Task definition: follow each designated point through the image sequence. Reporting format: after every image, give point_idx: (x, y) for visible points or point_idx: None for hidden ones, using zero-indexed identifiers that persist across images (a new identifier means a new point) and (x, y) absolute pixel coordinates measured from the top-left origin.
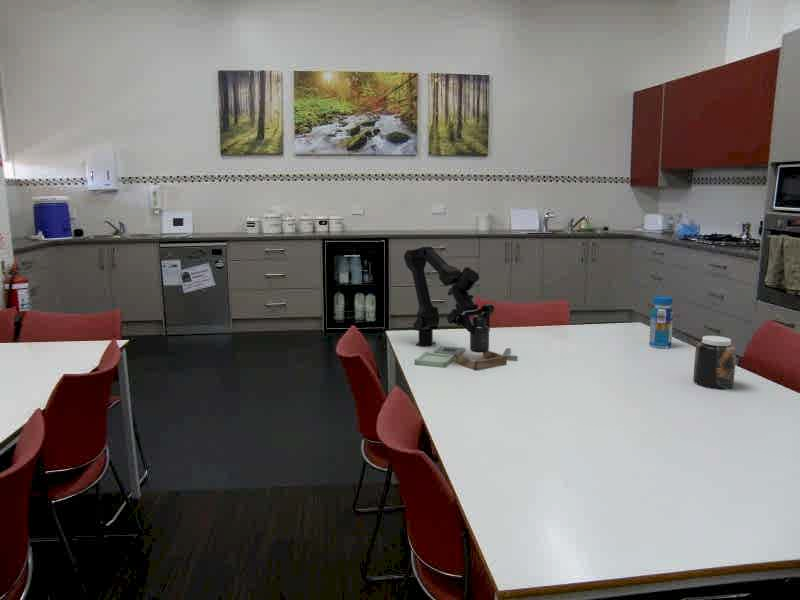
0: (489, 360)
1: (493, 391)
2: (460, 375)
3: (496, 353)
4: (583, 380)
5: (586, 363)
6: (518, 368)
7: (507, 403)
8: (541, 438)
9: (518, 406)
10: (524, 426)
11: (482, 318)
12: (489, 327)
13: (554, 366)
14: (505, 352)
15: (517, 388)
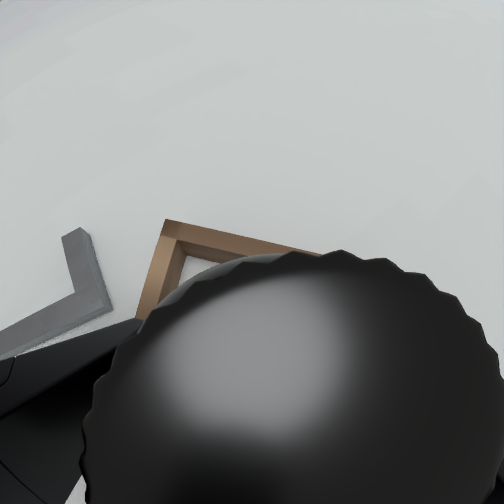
0: (308, 252)
1: (476, 110)
2: (478, 287)
3: (144, 308)
4: (201, 3)
5: (31, 74)
6: (203, 157)
7: (483, 67)
8: (494, 19)
9: (472, 49)
10: (498, 35)
11: (312, 385)
12: (106, 330)
13: (96, 95)
14: (37, 328)
15: (408, 70)
